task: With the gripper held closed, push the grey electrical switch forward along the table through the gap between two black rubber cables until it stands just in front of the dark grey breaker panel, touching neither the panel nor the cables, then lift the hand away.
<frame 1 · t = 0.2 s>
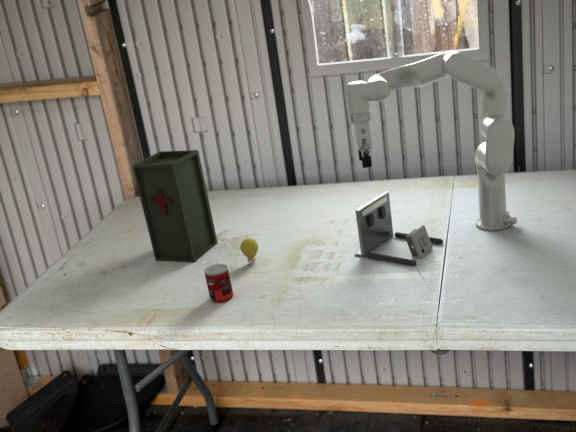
hand: (365, 163, 238), 31 cm above the table, tool pointing down, fingers open, 9 cm apart
canned food: (222, 298, 224), on the table
cable near: (391, 261, 230), on the table
light bulb: (252, 263, 247), on the table
panel: (377, 246, 244), on the table
first aid box: (187, 252, 268), on the table
cable far: (418, 240, 243), on the table
electrical switch: (419, 254, 233), on the table
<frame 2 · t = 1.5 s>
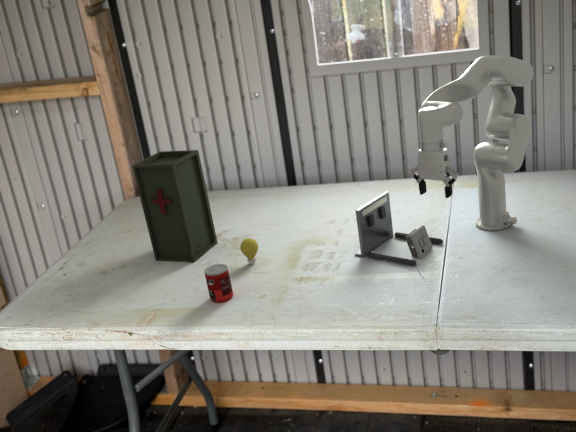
hand: (435, 195, 220), 23 cm above the table, tool pointing down, fingers open, 9 cm apart
nothing on the table moved.
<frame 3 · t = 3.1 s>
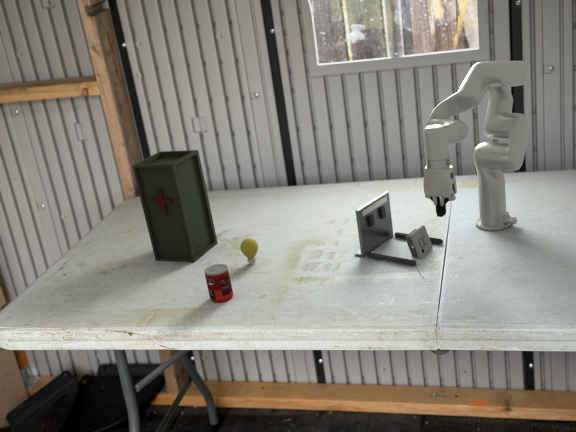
hand: (441, 215, 221), 16 cm above the table, tool pointing down, fingers closed
nothing on the table moved.
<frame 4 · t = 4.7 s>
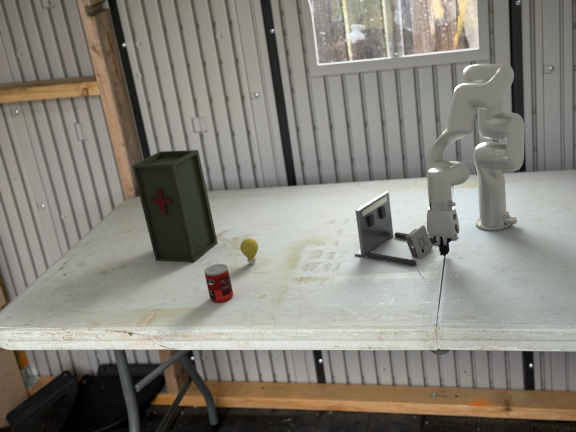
hand: (444, 254, 226), 1 cm above the table, tool pointing down, fingers closed
nothing on the table moved.
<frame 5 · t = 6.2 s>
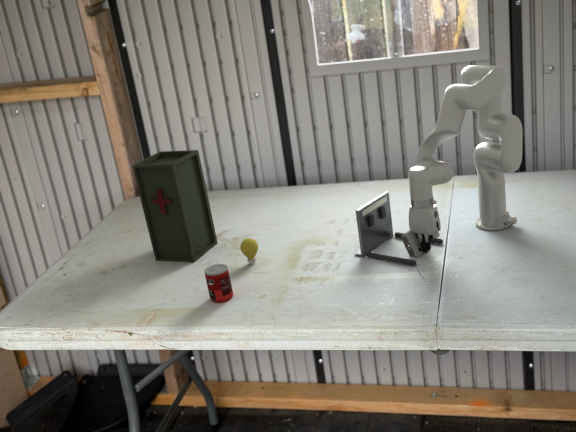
hand: (426, 251, 231), 1 cm above the table, tool pointing down, fingers closed
electrical switch: (417, 253, 234), on the table, touching gripper
everything else where it was.
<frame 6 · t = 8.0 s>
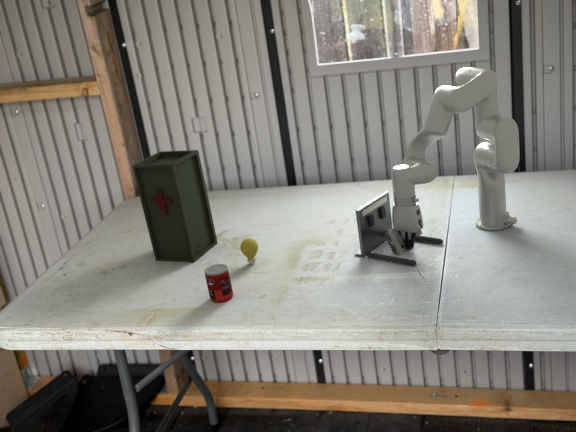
hand: (409, 248, 235), 1 cm above the table, tool pointing down, fingers closed
electrical switch: (400, 250, 238), on the table, touching gripper
everything else where it was.
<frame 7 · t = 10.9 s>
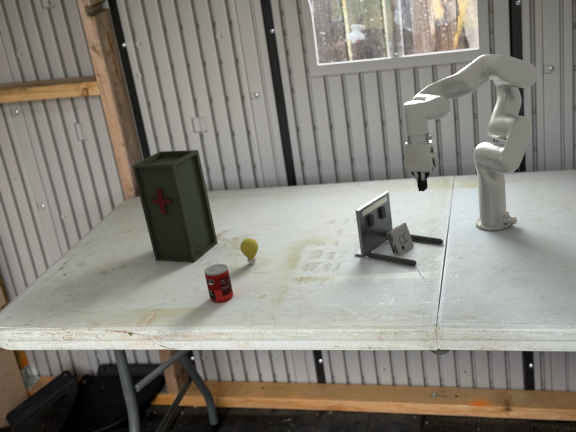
hand: (422, 189, 225), 23 cm above the table, tool pointing down, fingers closed
electrical switch: (400, 250, 238), on the table
everything else where it was.
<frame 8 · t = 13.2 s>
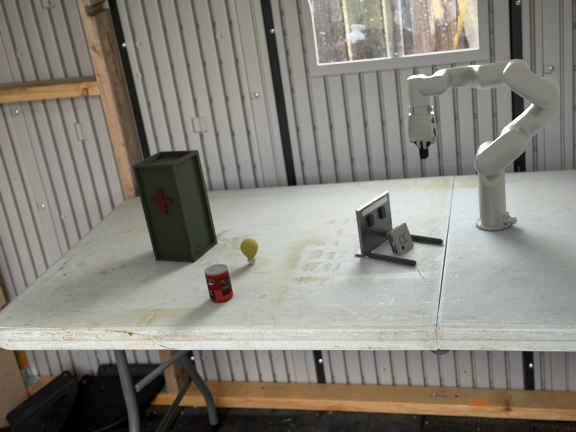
hand: (424, 158, 246), 27 cm above the table, tool pointing down, fingers closed
nothing on the table moved.
at the end: electrical switch inside the target area (2.9 cm from its centre), on the table; electrical switch tilted 1°; electrical switch touching table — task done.
